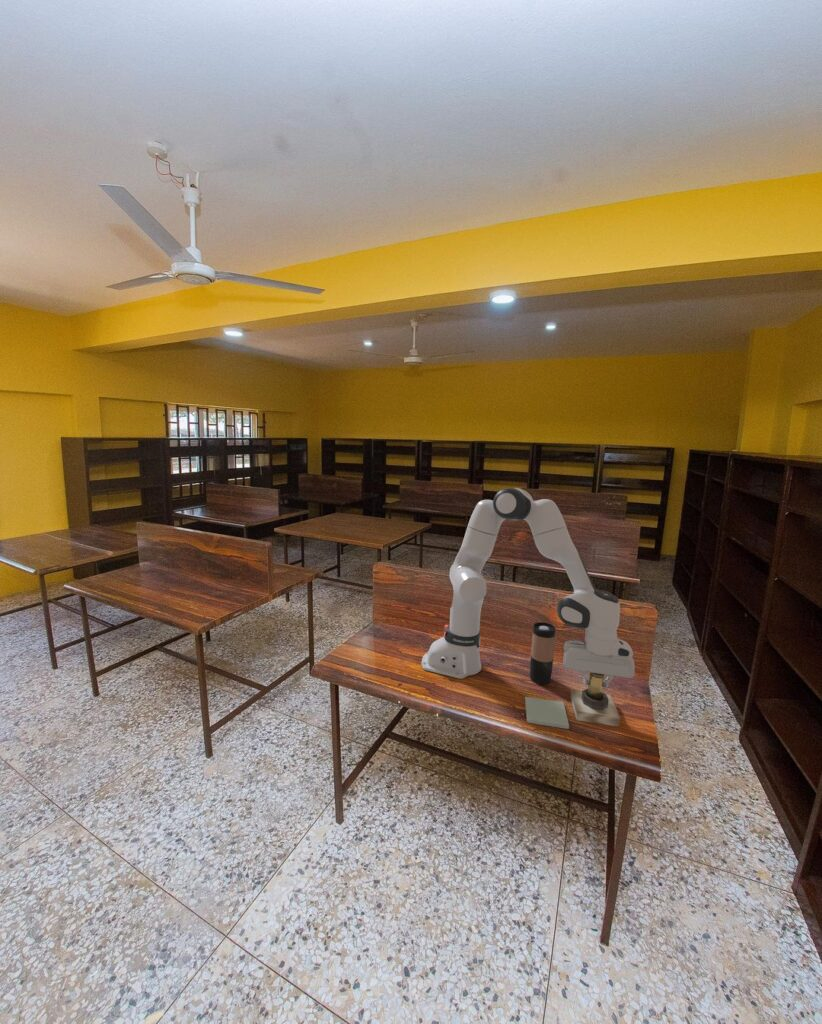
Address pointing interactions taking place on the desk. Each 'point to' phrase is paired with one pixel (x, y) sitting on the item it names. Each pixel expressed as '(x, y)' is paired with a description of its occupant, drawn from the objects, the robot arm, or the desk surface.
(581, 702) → the beige base with ring
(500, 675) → the desk surface
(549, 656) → the travel mug
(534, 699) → the sage pad
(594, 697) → the brass peg
